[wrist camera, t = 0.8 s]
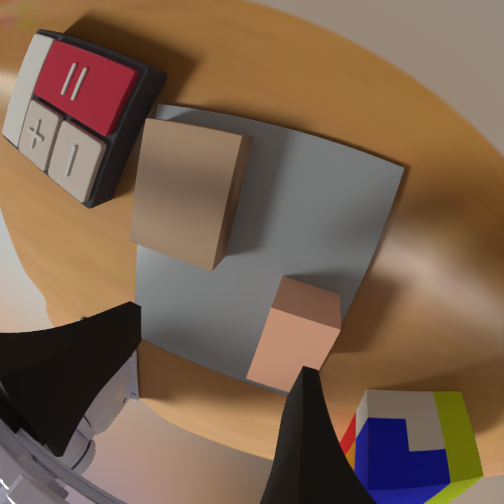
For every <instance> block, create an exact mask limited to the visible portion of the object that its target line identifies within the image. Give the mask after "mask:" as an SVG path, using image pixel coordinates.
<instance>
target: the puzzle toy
mask: <svg viewBox="0 0 504 504" xmlns="http://www.w3.org/2000/svg"><path fill="white" fill-rule="evenodd" d="M340 446H341V448H342V450H343V452H344V454H345V456H346V458H347V460H348V462H349V464H350V466H351V467H352V469H353V471H354V472H355V474H356V475H357V477H358V479H359V480H360V482H361V483H362V485H363V486H364V488H365V489H366V490H367V492H368V493H369V494H370V496H371V497H372V498H373V499H374V500H375V501H376V503H377V504H448V503H449V502H451V501H452V500H453V499H455V498H456V497H458V496H459V495H460V494H462V493H463V492H464V491H466V490H467V489H468V488H469V487H470V486H472V485H473V484H474V483H476V482H477V481H478V480H479V479H481V478H482V477H483V471H482V466H481V461H480V457H479V453H478V448H477V444H476V440H475V437H474V433H473V429H472V426H471V422H470V419H469V416H468V412H467V409H466V406H465V403H464V400H463V397H462V394H461V391H393V390H376V389H366V391H365V393H364V396H363V398H362V400H361V402H360V404H359V406H358V409H357V411H356V413H355V415H354V417H353V419H352V421H351V423H350V425H349V427H348V429H347V431H346V433H345V434H344V436H343V438H342V440H341V442H340Z"/></svg>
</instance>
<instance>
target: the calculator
mask: <svg viewBox="0 0 504 504" xmlns="http://www.w3.org/2000/svg"><path fill="white" fill-rule="evenodd" d="M166 78H167V74H166V72H164V71H162V70H160V69H158V68H156V67H153V66H151V65H149V64H147V63H144V62H142V61H140V60H137V59H135V58H132V57H130V56H127V55H125V54H122V53H120V52H117V51H114V50H112V49H109V48H106V47H103V46H101V45H98V44H95V43H92V42H89V41H86V40H83V39H81V38H78V37H74V36H71V35H68V34H64V33H60V32H55V31H49V30H43V29H39V30H38V31H37V32H36V34H35V35H34V37H33V39H32V41H31V44H30V46H29V48H28V51H27V53H26V56H25V58H24V61H23V63H22V66H21V69H20V72H19V74H18V77H17V80H16V83H15V86H14V89H13V93H12V96H11V99H10V103H9V107H8V110H7V114H6V118H5V122H4V127H3V136H4V137H5V138H6V139H7V140H8V141H9V142H10V143H11V144H12V145H13V146H14V147H15V148H17V149H18V150H19V151H20V152H21V153H22V154H23V155H24V156H26V157H27V158H28V159H29V160H30V161H31V162H32V163H34V164H35V165H36V166H37V167H38V168H39V169H41V170H42V171H43V172H44V173H45V174H46V175H48V176H49V177H50V178H51V179H52V180H54V181H55V182H56V183H57V184H58V185H60V186H61V187H62V188H63V189H64V190H66V191H67V192H68V193H69V194H71V195H72V196H73V197H74V198H76V199H77V200H78V201H79V202H81V203H82V204H83V205H84V206H86V207H87V208H93V207H95V206H98V205H100V204H102V203H105V202H107V201H110V200H111V199H112V197H113V194H114V192H115V189H116V186H117V184H118V181H119V178H120V176H121V173H122V171H123V168H124V166H125V163H126V161H127V159H128V156H129V154H130V152H131V149H132V147H133V145H134V143H135V140H136V138H137V136H138V134H139V132H140V129H141V127H142V125H143V123H144V121H145V119H146V117H147V115H148V113H149V111H150V109H151V107H152V105H153V103H154V101H155V99H156V97H157V95H158V93H159V92H160V90H161V88H162V86H163V84H164V82H165V80H166Z"/></svg>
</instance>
